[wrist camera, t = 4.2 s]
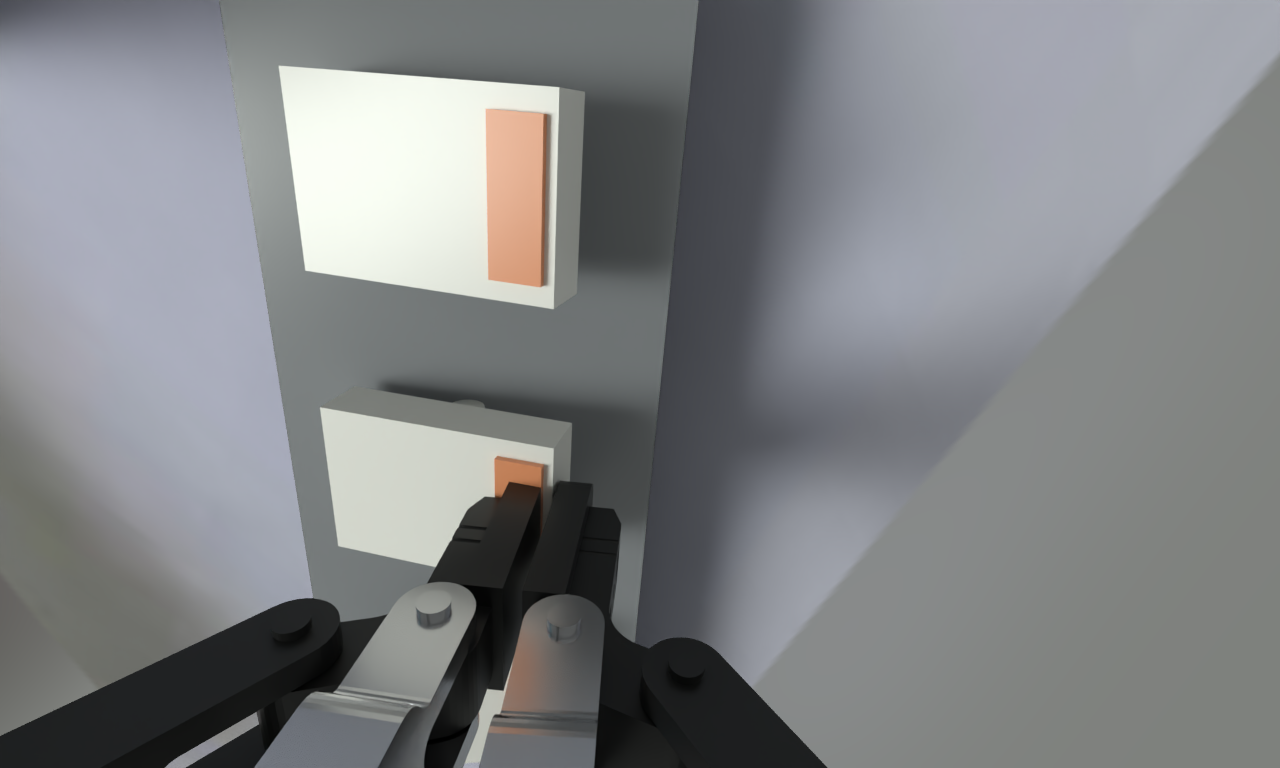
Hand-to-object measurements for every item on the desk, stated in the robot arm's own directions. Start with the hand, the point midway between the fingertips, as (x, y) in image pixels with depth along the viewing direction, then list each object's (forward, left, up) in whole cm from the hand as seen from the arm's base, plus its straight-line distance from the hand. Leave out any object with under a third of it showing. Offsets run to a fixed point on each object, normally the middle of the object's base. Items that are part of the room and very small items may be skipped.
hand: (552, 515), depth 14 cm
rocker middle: (0, -2, -2) cm, 3 cm away
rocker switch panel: (-2, -2, -5) cm, 6 cm away
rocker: (-7, -2, -2) cm, 7 cm away
